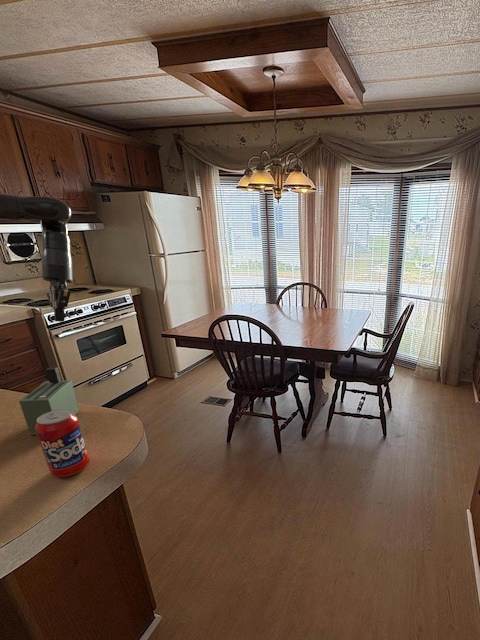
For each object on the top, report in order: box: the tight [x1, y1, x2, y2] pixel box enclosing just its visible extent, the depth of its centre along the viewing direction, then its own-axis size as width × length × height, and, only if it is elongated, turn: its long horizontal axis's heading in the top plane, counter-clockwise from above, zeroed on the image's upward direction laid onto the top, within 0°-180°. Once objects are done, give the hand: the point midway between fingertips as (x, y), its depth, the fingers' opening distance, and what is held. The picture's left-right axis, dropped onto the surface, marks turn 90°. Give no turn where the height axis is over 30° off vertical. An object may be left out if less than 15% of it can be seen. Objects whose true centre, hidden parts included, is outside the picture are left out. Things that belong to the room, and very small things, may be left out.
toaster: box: [18, 379, 81, 436], centre depth 100 cm, size 13×7×11 cm, turn 11°
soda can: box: [35, 409, 90, 478], centre depth 81 cm, size 8×8×15 cm
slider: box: [45, 366, 62, 383], centre depth 102 cm, size 2×2×4 cm
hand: (59, 321), depth 108 cm, fingers closed
